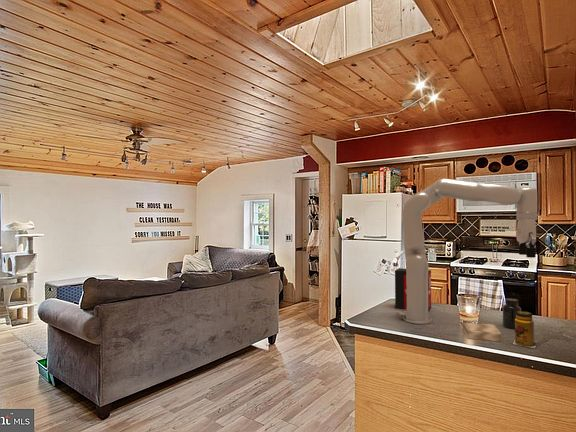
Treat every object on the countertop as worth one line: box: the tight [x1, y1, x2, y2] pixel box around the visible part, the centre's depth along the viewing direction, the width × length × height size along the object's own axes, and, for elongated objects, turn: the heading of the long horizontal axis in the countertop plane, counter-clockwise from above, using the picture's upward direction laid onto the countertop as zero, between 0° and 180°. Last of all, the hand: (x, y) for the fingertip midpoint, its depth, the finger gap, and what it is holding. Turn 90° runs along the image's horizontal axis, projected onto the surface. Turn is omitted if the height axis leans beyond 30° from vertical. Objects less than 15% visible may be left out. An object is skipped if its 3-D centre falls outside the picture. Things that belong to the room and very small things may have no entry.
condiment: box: [512, 310, 539, 349], centre depth 141 cm, size 7×8×12 cm
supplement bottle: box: [502, 298, 522, 330], centre depth 161 cm, size 7×7×12 cm
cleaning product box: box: [394, 267, 432, 313], centre depth 193 cm, size 16×9×20 cm, turn 60°
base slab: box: [462, 322, 503, 342], centre depth 150 cm, size 12×12×3 cm
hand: (527, 256), depth 158 cm, fingers open, 9 cm apart
